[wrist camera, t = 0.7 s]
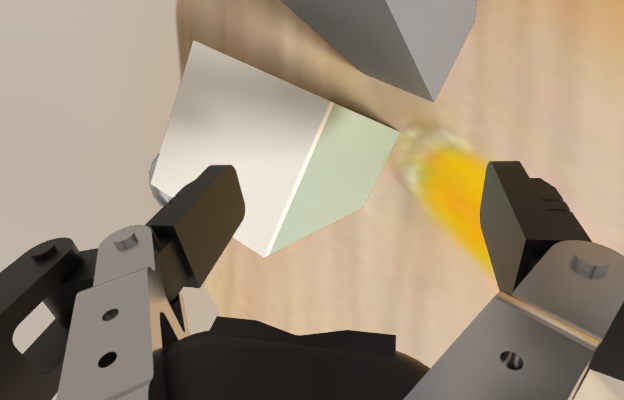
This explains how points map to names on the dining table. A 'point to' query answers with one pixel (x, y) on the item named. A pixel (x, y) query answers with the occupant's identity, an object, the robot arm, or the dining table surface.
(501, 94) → the dining table surface
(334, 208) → the pedestal
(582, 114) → the dining table surface
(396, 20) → the stand
